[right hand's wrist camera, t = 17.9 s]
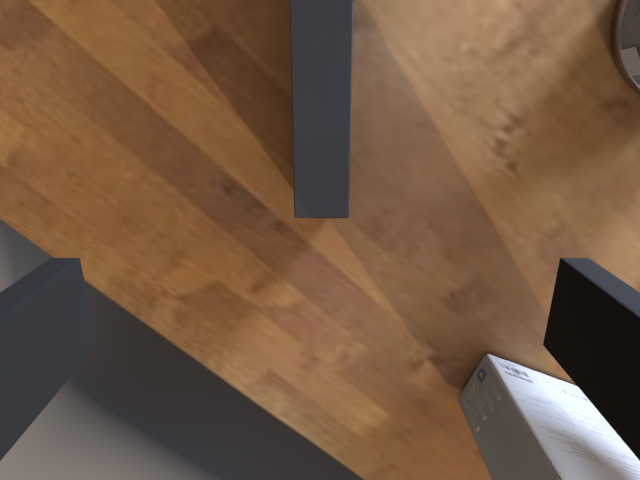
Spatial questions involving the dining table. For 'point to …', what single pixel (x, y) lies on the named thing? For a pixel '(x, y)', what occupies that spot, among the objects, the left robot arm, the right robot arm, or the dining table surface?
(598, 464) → the hard drive box
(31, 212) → the dining table surface
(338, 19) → the beam
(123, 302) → the dining table surface
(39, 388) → the right robot arm
